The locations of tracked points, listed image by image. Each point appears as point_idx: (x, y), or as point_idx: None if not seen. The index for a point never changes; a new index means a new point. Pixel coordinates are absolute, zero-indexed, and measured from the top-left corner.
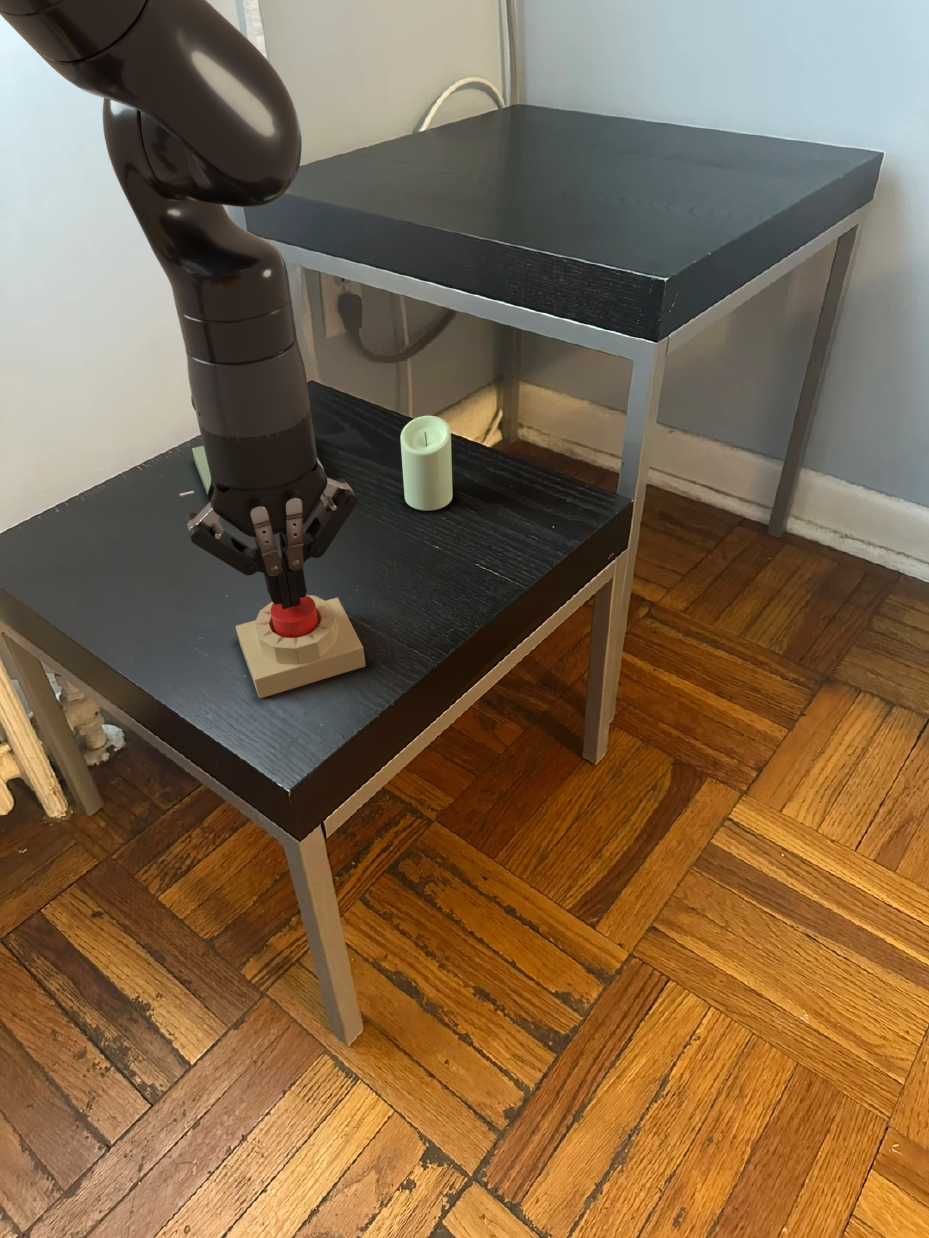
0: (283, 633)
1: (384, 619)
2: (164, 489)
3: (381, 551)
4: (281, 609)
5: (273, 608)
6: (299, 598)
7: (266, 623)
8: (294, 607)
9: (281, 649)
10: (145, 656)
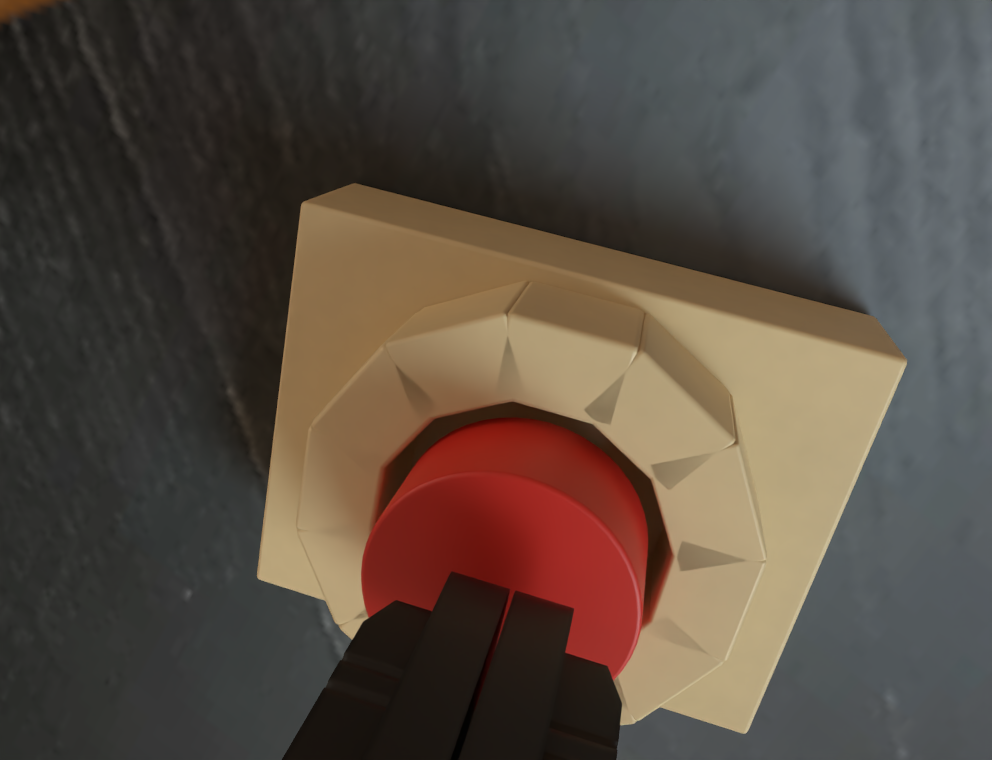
0: (631, 497)
1: (159, 385)
2: None
3: (27, 694)
4: None
5: None
6: (439, 601)
7: (663, 625)
8: None
9: (706, 406)
10: None
